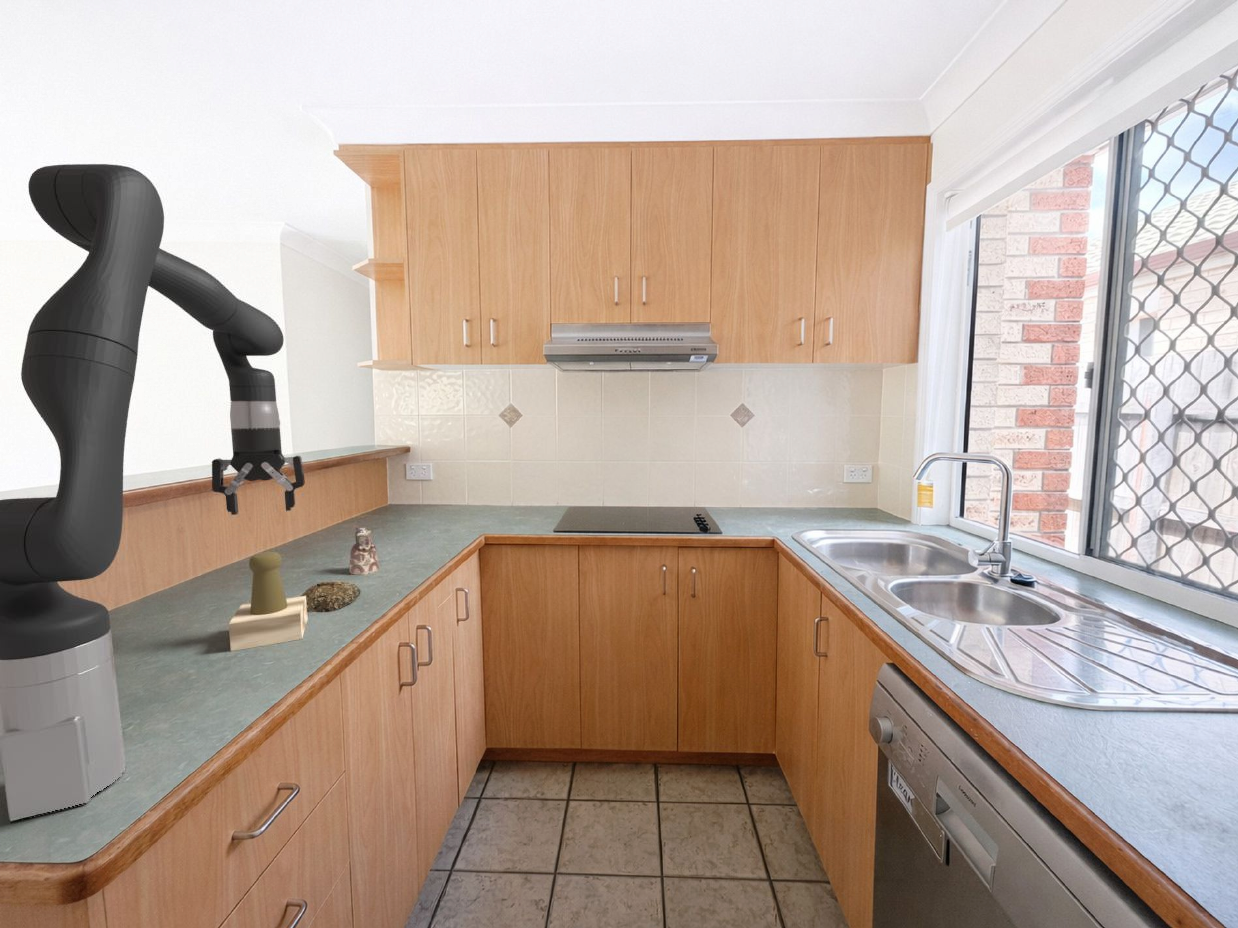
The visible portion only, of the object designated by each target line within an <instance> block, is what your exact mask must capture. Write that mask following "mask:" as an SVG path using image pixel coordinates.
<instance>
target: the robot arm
mask: <svg viewBox="0 0 1238 928" xmlns="http://www.w3.org/2000/svg"><path fill="white" fill-rule="evenodd" d="M27 185H28V194H29V197H30V201H31V203H32V205H33V207H34V210H35V211H36V213H37V214H38V216H40V218H41V219H42V220H43V221H44V223H46V225H47V226H49V228H51V229H52V230H53V231H54V232H55V233H57V234H58V235H60V236H61V237H62V238H64V239H66V240H67V241H68V242H70V243H73V244H74V246H75V245H76V246H77V247H79V248H81V249H82V250H84V251H86V252H88V254H87V256H86V258H85V259H84V262H83V263H82V264H81V266H79V268H78V269H77V270H76V271H75V272H74V273H73V275H72V276H71V277H69V279H67V280H66V282H65V283H64V284H62V286H60V287H59V289H57V290H56V291H55V293H53V295H51V296H50V298H48V299H47V301H46V302H45V303H44V304H43V305H42V306H41V307H40V308H39V310H38V311H37V313H36V314H35V315H34V317H33V319H32V321H31V323H30V325H29V329H28V332H27V337H26V341H25V347H24V351H23V355H22V356H23V357H22V363H21V370H20V374H21V375H20V376H21V384H22V386H23V389H24V391H25V393H26V395H27V397H28V398H29V400H30V402H31V404H32V405H33V407H34V409H35V410H36V411H37V413H38V414H39V416H40V418H42V420H43V422H44V423H45V424H46V426H47V428H48V429H49V431H50V432H51V434H52V435H53V437H54V440H55V442H56V444H57V446H58V452H59V458H60V469H59V470H60V471H59V482H58V488H57V493H56V496H52V497H51V496H49V497H47V496H46V497H44V496H43V497H23V498H7V499H6V498H5V499H0V762H1V768H2V770H1V771H2V777H3V783H4V790H5V797H6V798H5V799H6V808H7V813H8V820H9V819H13V818H18V817H19V818H21V817H24V816H30V815H34V814H35V815H36V814H41V813H45V812H50V813H53V812H52V811H54V812H56V811H55V810H58V811H61V810H60V809H62V810H65V809H64V808H66V809H69V808H68V807H70V808H73V807H72V806H74V807H76V806H75V805H78V806H80V805H79V804H82V805H84V804H83V803H86V804H87V801H89V799H90V798H91V797H92V796H93V795H94V796H96V795H97V794H96V793H97V792H99V791H101V790H102V791H104V790H105V789H104V788H106V787H107V786H109V785H110V784H111V785H113V784H114V783H115V782H116V781H118V780H119V779H120V778H121V777H122V776H123V774H124V773H123V772H125V771H126V768H125V767H126V756H125V747H124V740H123V738H124V737H123V732H122V731H123V730H122V723H121V722H122V721H121V713H120V704H119V695H118V686H117V678H116V667H115V659H114V648H113V639H112V631H111V620H110V613H109V610H108V608H107V607H106V606H104V604H102V603H99V602H96V601H93V600H88V599H84V598H82V597H79V596H77V595H74V594H72V593H70V592H69V591H67V590H66V589H64V588H62V587H61V585H60V584H59V582H60V583H61V582H74V581H85V580H91V579H94V578H96V577H99V576H100V575H102V574H103V573H104V572H105V571H107V570H108V569H109V568H110V566H111V565H112V564H113V562H114V560H115V558H116V556H117V553H118V550H119V548H120V544H121V541H122V540H121V539H122V532H123V531H122V530H123V517H124V461H125V459H124V457H125V446H126V445H125V443H126V434H127V425H128V418H129V411H130V410H129V409H130V405H131V399H132V393H133V388H134V383H135V377H136V376H135V375H136V369H137V363H138V353H139V341H140V340H139V339H140V338H139V337H140V332H141V326H142V320H143V316H144V315H143V314H144V313H143V312H144V310H145V309H144V308H145V303H146V297H147V294H148V288H149V287H150V288H151V289H153V290H155V291H156V292H158V293H159V294H160V295H162V296H163V297H166V299H168V300H169V301H171V302H173V303H174V304H175V305H176V306H177V307H178V308H180V309H181V310H183V311H184V312H186V313H187V314H188V315H189V316H190V317H192V318H193V319H194V320H195V321H196V322H198V323H199V324H200V325H202V326H203V327H205V328H206V329H209V330H211V331H212V338H213V344H214V346H215V348H216V351H217V353H218V355H219V357H220V360H221V362H222V365H223V368H224V371H225V373H226V376H227V379H228V385H229V397H230V409H229V419H230V430H231V431H230V432H231V443H232V444H231V445H232V453H233V454H232V458H231V459H222V458H215V459H213V460H212V461H211V486H212V487H211V488H212V489H211V490H212V491H213V492H214V493H220V494H223V495H224V496H225V504H226V510H227V512H228V513H230V514H231V516H235V515H236V516H237V515H238V514H239V504H238V494H237V493H236V491H237V490H238V489H239V487H240V486H241V485H242V484H243V483H244V482H245V480H246V481H249V482H255V481H270V480H272V479H274V480H275V481H276V482H277V483H278V484H280V485H281V486H282V487H283V488H284V489H285V491H284V500H285V501H284V503H285V512H289V511H292V508H295V505H296V497H295V496H296V495H295V491H296V489H299V488H302V487H303V486H305V484H306V481H305V475H304V474H305V473H304V467H303V460H302V456H300V455H295V456H289V457H288V456H287V457H285V455H283V453H282V452H283V451H282V440H281V439H282V437H281V427H280V426H281V420H280V414H279V408H278V405H277V391H276V380H275V376H274V373H272V372H271V371H269V370H266V369H261V368H256V367H253V366H252V365H251V363H250V361H249V359H248V357H261V356H262V357H264V356H265V357H269V356H272V355H276V354H277V353H279V352H280V351H281V349H282V347H283V346H284V341H285V340H284V333H283V330H282V329H281V328H280V326H279V324H278V323H277V322H276V321H275V320H274V318H272V317H271V316H270V315H268V314H267V313H265V312H264V311H262V310H261V309H258V308H257V307H255V306H252V305H251V304H249V303H247V302H245V301H243V300H241V299H240V298H238V297H237V296H236V295H234V293H233V292H231V291H230V290H229V289H228V288H227V287H226V286H225V285H224V284H223V283H222V282H221V281H220V280H218V279H217V278H216V276H213V275H212V274H211V273H210V272H208V271H206V270H205V269H203V268H201V267H200V266H199V265H196V264H194V263H192V262H190V261H188V260H186V259H183V258H181V257H178V256H177V255H175V254H172V253H170V252H168V251H166V250H164V249H162V248H160V247H161V242H162V239H163V236H164V235H163V234H164V228H165V227H164V226H165V213H164V208H163V203H162V199H161V197H160V194H159V192H158V190H157V188H156V187H155V185H154V183H153V182H152V181H151V180H150V179H149V178H148V177H147V176H146V175H145V174H143V173H142V172H141V171H139V170H137V169H135V168H132V167H129V166H125V165H118V164H110V163H109V164H108V163H97V164H96V163H89V164H87V163H81V164H80V163H79V164H78V163H74V164H73V163H72V164H68V163H67V164H55V165H46V166H42V167H40V168H37V169H36V170H35V171H33V172H32V174H31V175H30V177H29V180H28V184H27ZM285 463H286V464H288V465H289V467H290V468H292V469H293V470H294V477H295V481H294V482H292V481H291V480H290V479H289V478H288V477H287V476H286V475H285V473H283V472H282V471H281V469H282V468H283V467H284V466H285ZM229 466H231V468H232V469H234V470H235V472H237V474H236V475H235V477H234V478H233V479H232V480H231V482H230V484H229V485H224V483H225V482H224V472H225V471H226V470H228V468H229ZM122 773H123V774H122ZM119 777H120V778H119ZM118 778H119V779H118ZM117 779H118V780H117ZM115 780H116V781H115ZM113 782H114V783H113ZM112 783H113V784H112ZM111 785H110V786H111ZM110 786H109V787H110ZM107 788H108V787H107ZM107 788H106V789H107ZM103 789H104V790H103ZM102 791H101V792H102ZM99 793H100V792H99ZM95 794H96V795H95ZM94 796H93V797H94ZM93 797H92V798H93ZM92 798H91V799H92ZM91 799H90V800H91ZM89 802H90V801H89Z"/></svg>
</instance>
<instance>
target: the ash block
mask: <svg viewBox="0 0 1238 928" xmlns="http://www.w3.org/2000/svg"><path fill="white" fill-rule="evenodd" d="M286 601H287V605H288V607H287V608H285V609H284V610H281V611H279V612H275V613H271V614H266V615H253V614H251V613H250V610H251V602H250V603H244V604H243V603H242V604H241V605H240V606H239V608H238V610H237V611H236V612H235V614H234V615H233V617H232V618H231V619H230V621H229V623H228V634H229V643H230V652H234V651H240V650H246V649H252V648H258V647H263V646H269V645H275V644H280V643H288V642H294V641H300V640H303V637H304V633H305V630H306V627H307V622H308V619H309V616H308V612H307V602H306V596H301V595H299V596H294V597H286Z"/></svg>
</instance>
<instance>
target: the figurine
mask: <svg viewBox="0 0 1238 928" xmlns="http://www.w3.org/2000/svg"><path fill="white" fill-rule="evenodd" d="M355 529H356V530H355V538H354V539H355V543H354V544H353V546H352V547H351V550H350V552H349V555H350V557H349V566H348V567H349V568H348V570H349V574H350V573H351V574H350V575H352V574H355V575H356V576H358V575H359V576H360V575H361V576H364V575H363V574H365V575H369V574H368V573H370V574H373V573H375V571H376V572H378V571H379V570H380V566H379V560H378V553H377V546H376V545H375V544H374V543H373V540H372V531H371V530H370V529H368V527H367V528H366V527H361V526H359V525H358V526H356V527H355Z"/></svg>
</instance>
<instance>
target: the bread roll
mask: <svg viewBox="0 0 1238 928" xmlns="http://www.w3.org/2000/svg"><path fill="white" fill-rule="evenodd" d="M360 595H361V589H360V588H359V587H358V586H357V585H356V584H354V583H351V582H347V581H343V580H341V581H339V580H334V581H322V582H318V583H316V584H314V585H312V586H310V587H308V588H307V589H306V590H305V592H303V593H302V594H301V595H300V596H306V602H307V613H313V612H316V613H317V612H319V613H327V612H334V611H335V612H336V611H338V610H340V609H342V608H345V607H346V606H348V605H350V604H351V603H353V602H355V600H357V598H358V597H360Z"/></svg>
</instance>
